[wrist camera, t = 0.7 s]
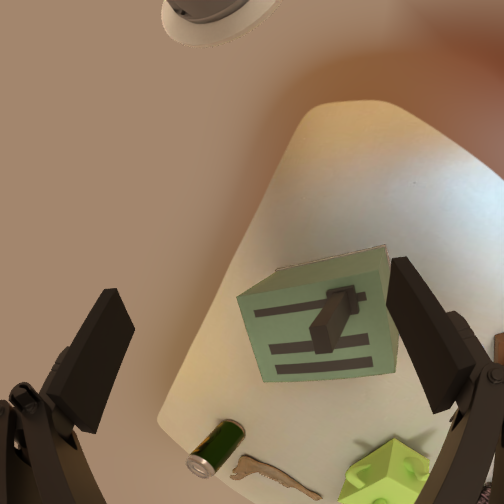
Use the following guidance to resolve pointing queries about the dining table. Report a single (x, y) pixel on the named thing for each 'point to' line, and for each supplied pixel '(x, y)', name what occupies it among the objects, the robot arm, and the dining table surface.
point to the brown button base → (499, 349)
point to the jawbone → (268, 474)
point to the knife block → (306, 310)
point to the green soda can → (215, 449)
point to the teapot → (386, 476)
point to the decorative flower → (484, 496)
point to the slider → (333, 318)
